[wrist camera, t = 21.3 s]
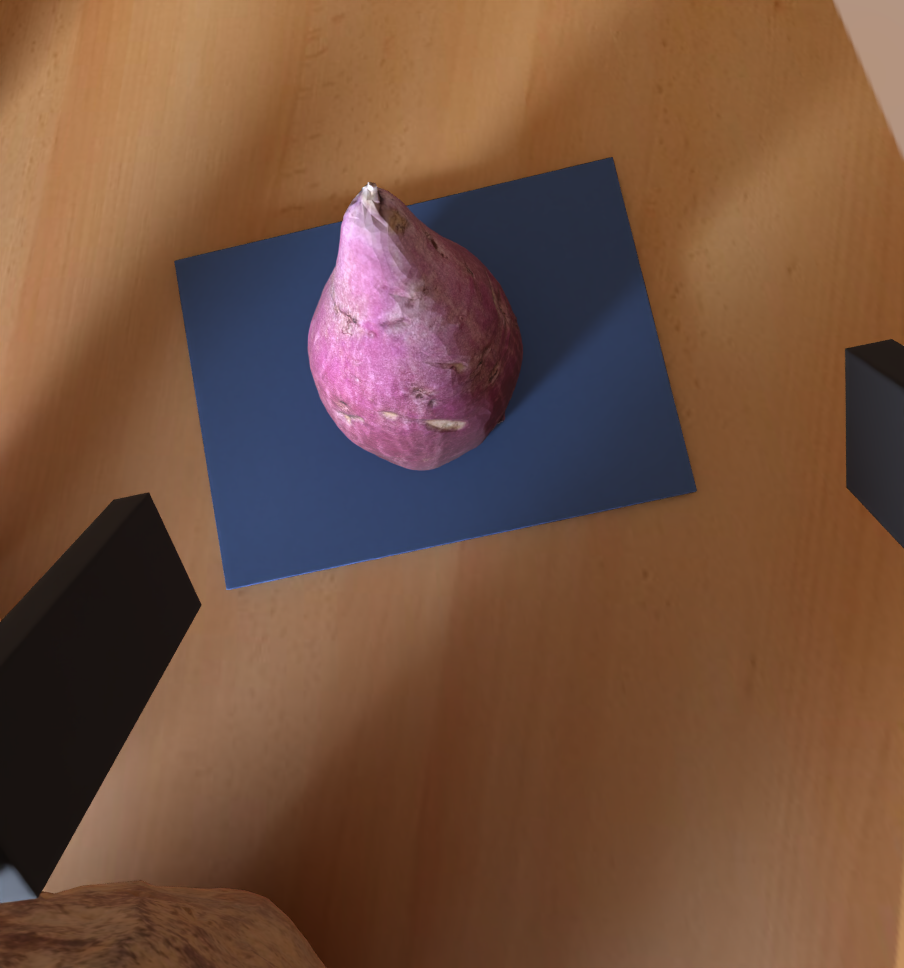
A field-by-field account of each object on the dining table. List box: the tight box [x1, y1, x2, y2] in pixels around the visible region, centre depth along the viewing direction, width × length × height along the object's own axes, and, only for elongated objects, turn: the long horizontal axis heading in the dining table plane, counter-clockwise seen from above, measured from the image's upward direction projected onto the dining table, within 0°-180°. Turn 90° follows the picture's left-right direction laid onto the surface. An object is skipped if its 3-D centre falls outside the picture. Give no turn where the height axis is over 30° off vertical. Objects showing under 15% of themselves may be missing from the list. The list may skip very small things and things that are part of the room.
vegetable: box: [308, 182, 523, 471], centre depth 33 cm, size 10×10×15 cm
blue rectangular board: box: [174, 157, 697, 590], centre depth 39 cm, size 24×18×1 cm
